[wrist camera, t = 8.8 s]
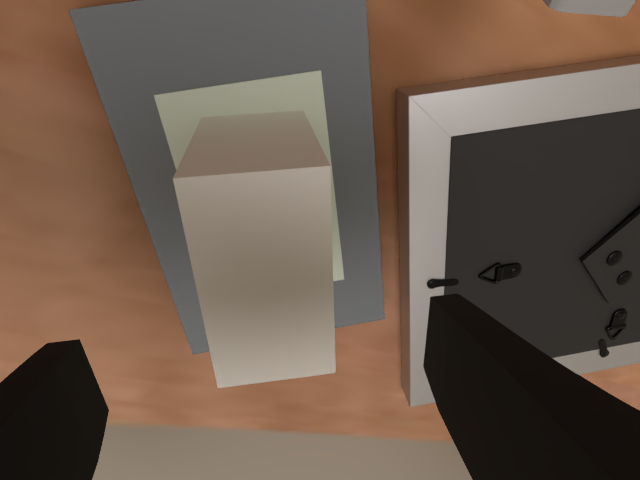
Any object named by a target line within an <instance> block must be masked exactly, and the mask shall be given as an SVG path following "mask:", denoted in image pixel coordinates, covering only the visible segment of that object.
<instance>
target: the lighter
mask: <svg viewBox="0 0 640 480" xmlns="http://www.w3.org/2000/svg"><path fill="white" fill-rule="evenodd" d="M543 1H544V2H545V4H546V5H547V6H548V7H550V8H552V9H554V10H557V11H559V12H566V13H579V14H591V15H604V16H617V17H625V15H626V14H627V13H628V12H629V10H630V9H631V7H632V6H633V4H634V3H635V1H636V0H543Z"/></svg>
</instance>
